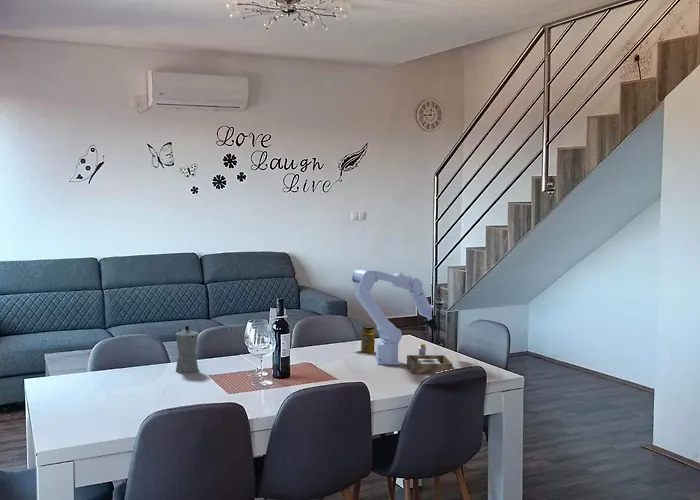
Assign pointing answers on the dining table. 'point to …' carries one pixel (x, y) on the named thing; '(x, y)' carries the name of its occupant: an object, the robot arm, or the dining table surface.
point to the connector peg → (422, 349)
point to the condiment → (367, 341)
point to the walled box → (428, 363)
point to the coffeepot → (186, 351)
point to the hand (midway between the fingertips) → (433, 326)
